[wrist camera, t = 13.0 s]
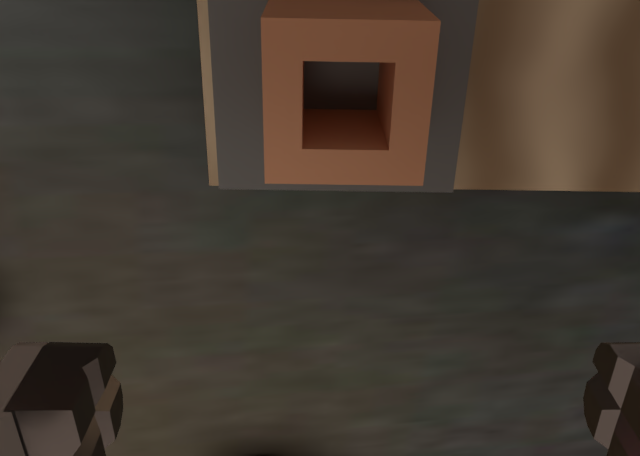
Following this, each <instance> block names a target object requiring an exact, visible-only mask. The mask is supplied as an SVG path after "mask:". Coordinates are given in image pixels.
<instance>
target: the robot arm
mask: <svg viewBox="0 0 640 456" xmlns="http://www.w3.org/2000/svg"><path fill="white" fill-rule="evenodd" d="M592 362H593V364H594V365H595V367H596V369H597V370H598V373H597V374H596V375H594V376H593V377H592V378H591V379H590V380H589V381H588V382H587V383H586V388H585V392H584V397H583V401H584V415H585V418H586V422H587V425H588V428H589V430H590V432H591V434H592V436H593V438H594V439H595V440H597V441H598V442H599V443H601V444H602V445H603V446H605V447H606V448H608V452H607V456H640V342H613V343H600V345H599V346H598V347H597V349H596V351H595V354H594V358H593V361H592ZM115 365H116V359H115V355H114V351H113V347H112V346H111V345H109V344H108V343H70V342H49V343H46V342H19V343H17V344H15V345H13V346H12V347H11V348H10V349H9V351H8V352H7V354H6V355H5V357H4V358H3V360H2V361H1V362H0V456H106V454H105V448H106V447H107V446H108V445H110V444H111V443H112V442H113V441H115V440H116V437H117V434H118V431H119V428H120V425H121V418H122V412H123V394H122V389H121V383H120V382H119V381H118V380H116V379H115V378H114V377H113V376H112V375H111V374H112V372H113V369H114V367H115Z"/></svg>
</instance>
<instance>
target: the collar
mask: <svg viewBox="0 0 640 456" xmlns="http://www.w3.org/2000/svg"><path fill="white" fill-rule="evenodd" d="M440 25H441V21H440V20H439V19H438V18H437V17H436V16H435V15H434V14H433V13H432V12H431V11H429V10H428V9H427V8H426V7H425V6H424V5H423V4H422V3H421V2H420V1H419V0H268V2H267V5H266V7H265V9H264V11H263V14H262V16H261V52H262V93H263V135H264V177H265V184H328V185H399V186H423V182H424V173H425V164H426V155H427V145H428V136H429V127H430V117H431V108H432V99H433V90H434V80H435V71H436V62H437V53H438V43H439V34H440ZM304 61H328V62H380V63H379V78H378V94H377V109H376V110H349V109H304Z"/></svg>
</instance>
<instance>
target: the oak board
mask: <svg viewBox="0 0 640 456" xmlns="http://www.w3.org/2000/svg"><path fill="white" fill-rule="evenodd" d="M197 10H198V25H199V40H200V54H201V69H202V84H203V98H204V113H205V128H206V142H207V157H208V171H209V185H214V186H219V182H218V166H217V149H216V133H215V116H214V100H213V83H212V67H211V50H210V34H209V17H208V1H207V0H197ZM454 189H474V190H539V191H604V192H640V0H479V4H478V11H477V19H476V26H475V34H474V41H473V48H472V56H471V63H470V71H469V78H468V85H467V93H466V100H465V107H464V115H463V122H462V130H461V137H460V144H459V152H458V159H457V167H456V174H455V181H454Z"/></svg>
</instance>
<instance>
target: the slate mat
mask: <svg viewBox="0 0 640 456" xmlns="http://www.w3.org/2000/svg"><path fill="white" fill-rule="evenodd" d="M207 1H208V17H209V34H210V50H211V67H212V83H213V100H214V116H215V133H216V149H217V166H218V182H219V189H246V190H312V191H378V192H443V193H453V189H454V181H455V174H456V167H457V159H458V152H459V144H460V137H461V130H462V122H463V115H464V107H465V100H466V93H467V85H468V78H469V71H470V63H471V56H472V48H473V41H474V34H475V26H476V19H477V11H478V4H479V0H419V1H420V2H421V3H422V4H423V5H424V6H425V7H426V8H427V9H428V10H429V11H431V12H432V13H433V14H434V15H435V16H436V17H437V18H438V19H439V20H440V21H441V25H440V34H439V43H438V53H437V62H436V71H435V80H434V90H433V99H432V108H431V117H430V127H429V136H428V145H427V155H426V164H425V173H424V182H423V186H399V185H328V184H265V177H264V135H263V93H262V52H261V16H262V14H263V11H264V9H265V7H266V5H267V2H268V0H207ZM379 63H380V62H328V61H304V109H349V110H376V109H377V94H378V78H379Z"/></svg>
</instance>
